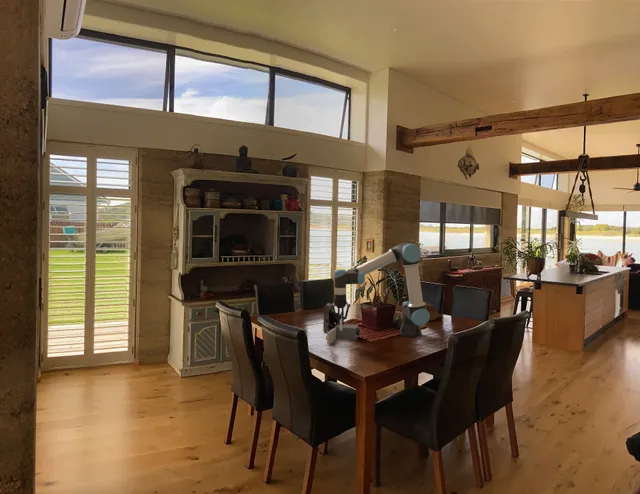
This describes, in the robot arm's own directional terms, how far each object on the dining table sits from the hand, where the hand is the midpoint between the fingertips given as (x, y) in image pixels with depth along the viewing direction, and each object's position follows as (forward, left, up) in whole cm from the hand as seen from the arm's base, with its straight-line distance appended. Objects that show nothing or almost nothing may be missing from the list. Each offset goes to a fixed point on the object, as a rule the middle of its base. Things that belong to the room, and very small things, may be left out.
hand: (341, 329), depth 276 cm
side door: (+6, 0, -8) cm, 10 cm away
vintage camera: (+10, -24, -8) cm, 27 cm away
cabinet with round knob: (-1, -11, -8) cm, 14 cm away
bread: (-48, -87, -9) cm, 100 cm away
